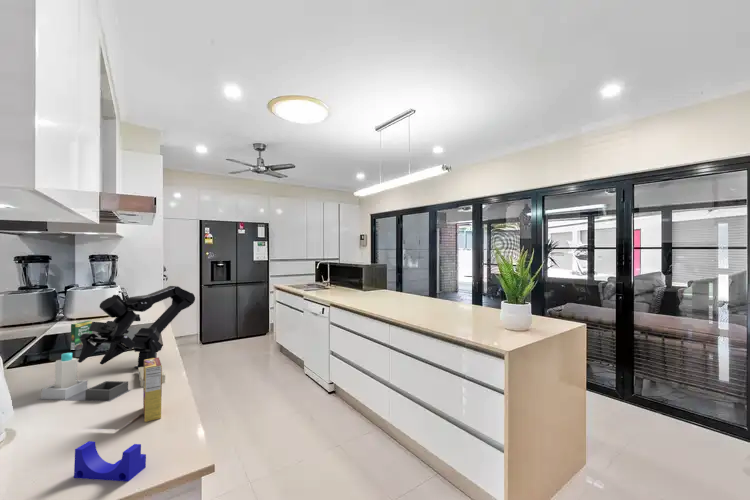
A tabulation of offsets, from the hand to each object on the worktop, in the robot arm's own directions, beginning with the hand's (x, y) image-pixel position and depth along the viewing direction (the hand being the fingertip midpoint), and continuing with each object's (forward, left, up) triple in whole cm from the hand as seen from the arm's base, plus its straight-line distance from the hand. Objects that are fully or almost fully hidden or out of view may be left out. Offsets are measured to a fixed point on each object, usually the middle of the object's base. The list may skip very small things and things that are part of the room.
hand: (89, 363), depth 113 cm
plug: (+7, -1, -8) cm, 11 cm away
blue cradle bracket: (+43, +44, -9) cm, 62 cm away
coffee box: (-45, -45, -9) cm, 64 cm away
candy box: (+18, +35, -9) cm, 40 cm away
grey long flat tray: (+7, +6, -8) cm, 13 cm away
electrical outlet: (-9, +16, -9) cm, 20 cm away
